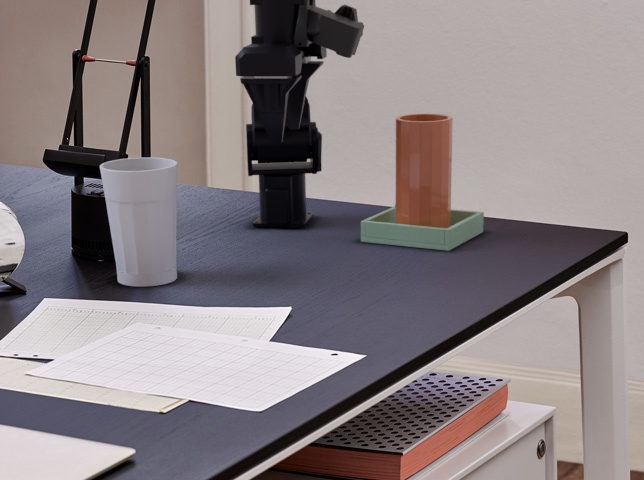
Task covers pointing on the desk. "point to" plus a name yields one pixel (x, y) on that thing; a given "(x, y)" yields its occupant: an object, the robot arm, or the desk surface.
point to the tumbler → (423, 170)
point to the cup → (142, 218)
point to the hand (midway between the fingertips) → (285, 136)
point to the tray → (422, 230)
